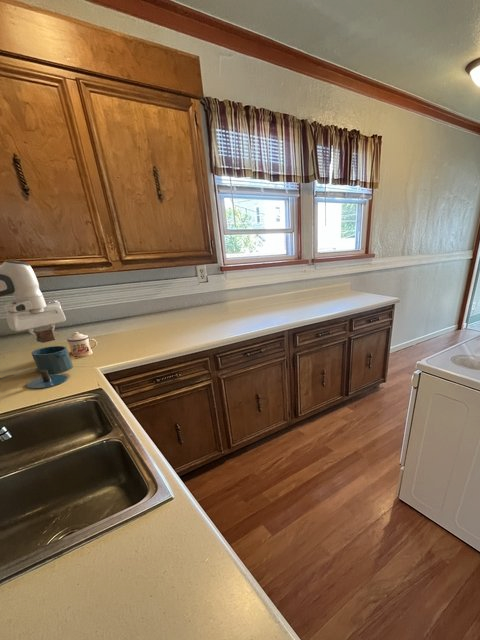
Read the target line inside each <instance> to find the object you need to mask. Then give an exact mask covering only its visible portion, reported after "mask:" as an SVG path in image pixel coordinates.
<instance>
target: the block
mask: <svg viewBox="0 0 480 640" xmlns="http://www.w3.org/2000/svg"><path fill="white" fill-rule="evenodd" d="M33 330H34V331H33V332H34V333H35V334H38V335H39V338H38V339H35V340H36V342H37V343H41V344H44V343H49V342H52V341H56V339H55V336H54V335H53V333H52V330H51V329H50V328H48V327H42V328H36V329H33Z"/></svg>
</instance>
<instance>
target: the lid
mask: <svg viewBox="0 0 480 640" xmlns="http://www.w3.org/2000/svg"><path fill="white" fill-rule="evenodd" d="M40 373H41V374H40V377H36V378H34V379H32V380H30V381H29V382H28V383H26V388H28V389H30V390H43V389H48V388H53V387H56V386H59V385H62V384H63V383H65V382H66V381H68V379H69V378H68V375H66V374H51V375H49V374H48V371H47V370H41V371H40Z"/></svg>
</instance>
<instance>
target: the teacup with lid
mask: <svg viewBox="0 0 480 640" xmlns="http://www.w3.org/2000/svg"><path fill="white" fill-rule="evenodd" d="M66 341H67V343H68V345H69V349H70V353H71V354H72V355H73V357H74V358H85V357H89V356H91V355H92V354H93V349H95V348H97V345H98V342H97V340H96V339H94V338H89V336H88V334H82V333H79V332H78V331H74V332H73V334H72V335H70V336H68V337H67V338H66ZM90 341H93V342H94V346H91V344H90Z"/></svg>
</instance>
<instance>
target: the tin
mask: <svg viewBox="0 0 480 640" xmlns="http://www.w3.org/2000/svg"><path fill="white" fill-rule="evenodd" d="M31 356H32V359H33V361H34V364H35V365H36V369H37V371H38V374H39V375H41V373H40V371H41V370H47V371H48V374H49V375H59V374H61V373H65V372H68V371H70V370H71V369H73V367H74V365H73V363H72V360H71V359H72V358H71V357H70V354H69V351H68V348H67V346H64V345H52V346H46V347H41V348H37V349H35V350H32V351H31Z"/></svg>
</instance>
